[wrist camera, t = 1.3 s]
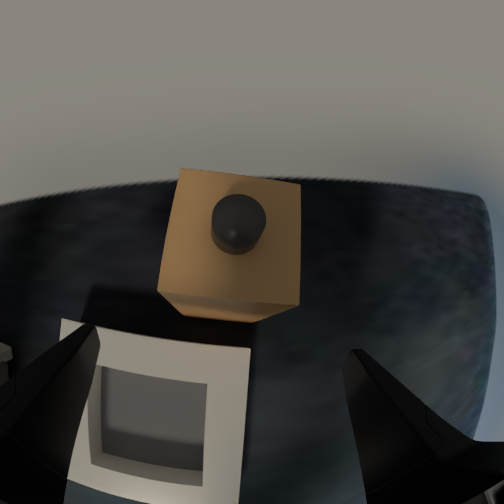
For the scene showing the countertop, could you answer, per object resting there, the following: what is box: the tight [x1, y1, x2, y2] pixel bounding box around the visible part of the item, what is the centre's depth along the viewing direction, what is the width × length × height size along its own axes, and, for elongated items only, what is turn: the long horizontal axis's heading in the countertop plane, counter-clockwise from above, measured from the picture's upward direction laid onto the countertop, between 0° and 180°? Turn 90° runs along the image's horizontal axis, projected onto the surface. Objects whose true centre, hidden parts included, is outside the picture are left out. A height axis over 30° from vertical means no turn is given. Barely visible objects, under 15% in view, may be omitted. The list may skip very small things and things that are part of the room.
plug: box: [157, 168, 301, 323], centre depth 15 cm, size 6×5×12 cm
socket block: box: [60, 319, 251, 504], centre depth 15 cm, size 13×13×3 cm
